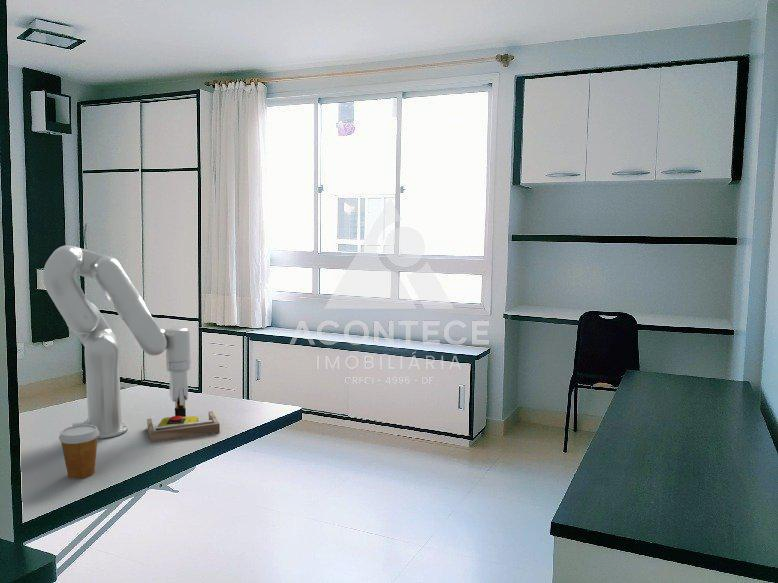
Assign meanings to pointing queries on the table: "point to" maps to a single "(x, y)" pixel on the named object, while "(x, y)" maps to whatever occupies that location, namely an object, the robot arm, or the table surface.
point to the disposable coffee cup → (79, 450)
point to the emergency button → (177, 420)
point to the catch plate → (184, 425)
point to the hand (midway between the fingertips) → (180, 419)
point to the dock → (183, 430)
